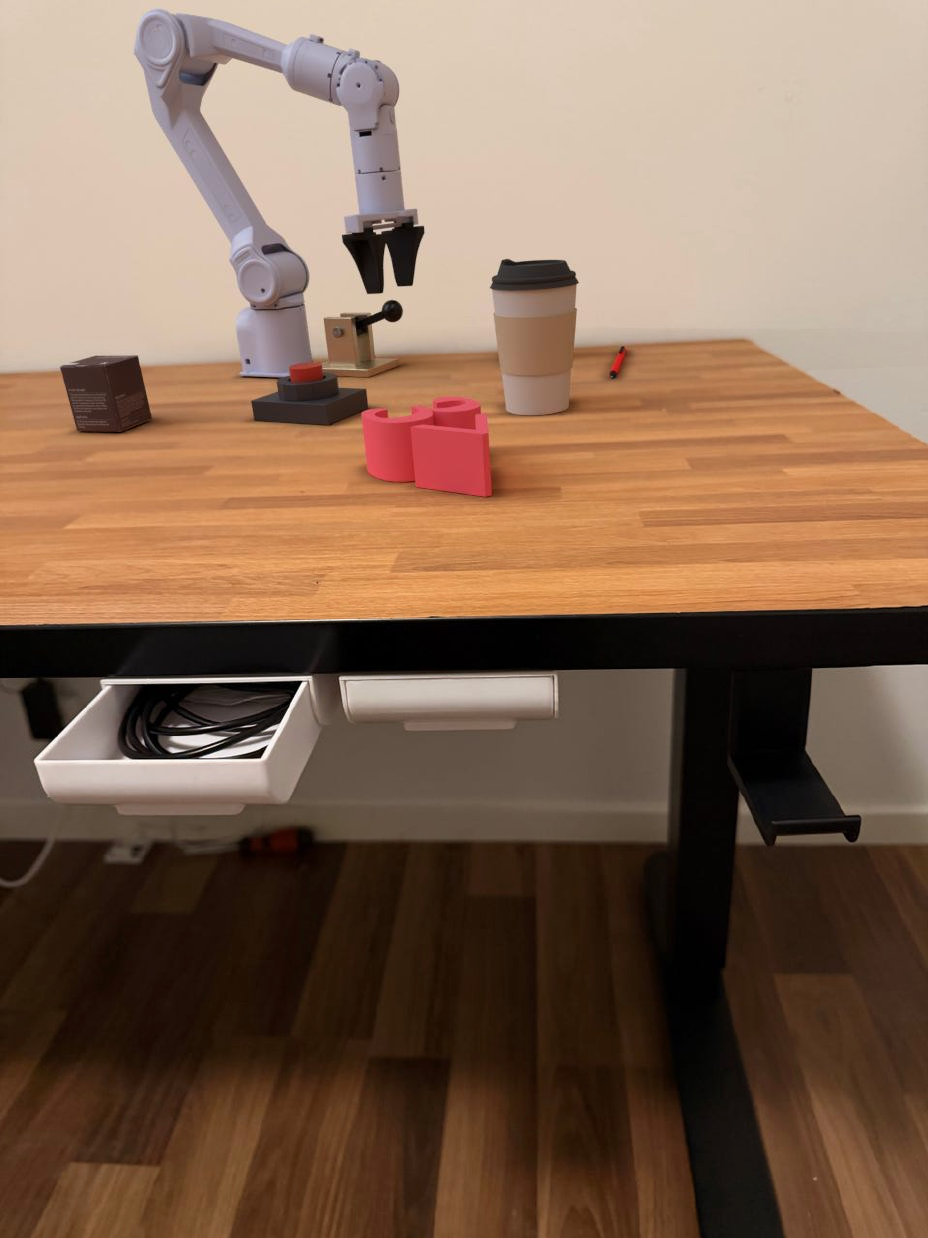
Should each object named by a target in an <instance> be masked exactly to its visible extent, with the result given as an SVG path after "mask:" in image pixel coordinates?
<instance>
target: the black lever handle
mask: <svg viewBox="0 0 928 1238" xmlns="http://www.w3.org/2000/svg"><path fill="white" fill-rule="evenodd" d="M403 314H404V309H403V306H402V304H401V303H400V302H399V301H397V300H396V299H389V300H387V301H385V302H384V303H383V305H382V307H381V310H380V311H378V312H376V313H373V314H371V316H368V317H366V318H364V319H361V320H359V318H358V316H356V317H355V325H356V334H357V336H359V335H361V334H364V332H363V329H362V328H364V327H366V326H369V325H371V324H372V325H374V324H375V323H376V324H377V323H379V322H381V321H383V320H385V321H387V322H389V323H396V322H399V321H400V320H401V319H402V318H403Z"/></svg>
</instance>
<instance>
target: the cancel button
mask: <svg viewBox="0 0 928 1238" xmlns="http://www.w3.org/2000/svg"><path fill="white" fill-rule="evenodd" d="M321 363H322V362H312V363H300V364H295V365H291V366H289V372H290V379H291V382H310V381H316V380H321V379H324V377H323V369H322V364H321Z"/></svg>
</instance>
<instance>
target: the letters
mask: <svg viewBox="0 0 928 1238" xmlns="http://www.w3.org/2000/svg"><path fill="white" fill-rule="evenodd" d="M410 410H411V414H410V415H404V416H398V417H397V416H396V417H389V411H388V408H370V409H365V410H363V411H361V412H360V415H361V424H362V432H363V433H362V434H363V442H364V443H363V444H364V452H365V461H366V470H367V473H368V474H369V475H370V476H372V477H373V478H376V479H379V480H382V481H386V482H393V483H394V482H395V483H406V482H415V487H416V488H420V489H429V490H436V491H441V492H448V493H449V492H450V493H455V494H464V495H469V496H476V497H486V498H487V497H491V496H492V495H493V493H492V473H491V453H490V451H491V450H490V432H489V423H488V413H487V412H482V407H481V402H479V401H477V400H475V399H473V398H468V397H463V396H462V397H461V396H442V397H441V396H440V397H436V398H434V399H432V407H426V406H424V405H421V404H417V405H412V406H410Z"/></svg>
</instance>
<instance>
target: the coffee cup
mask: <svg viewBox="0 0 928 1238" xmlns="http://www.w3.org/2000/svg"><path fill="white" fill-rule="evenodd" d="M578 284H580V282H579V280H578V278H577V273H576V271H574V270H571V269H570V267H569V264H568V262H567V260H565V259H535V260H522V261H520V260H519V261H514V260H512V259H510V258H505V259H502V260H501V261H500V263H499V267H498V271H497V274H496V275H493V276H492V277H491V285H490V286H489V289H490V290H491V292H492V301H493V308H494V312H493V322H494V329H495V337H496V344H497V345H496V346H497V353H498V360H499V361H498V362H499V370H500V372H501V377H502V386H503V393H504V395H503V396H504V403H505V411H506V412H507V413H510V414H513V415H517V416H544V415H552V414H557V413H560V412H564V411H566V410H567V409H569V407H570V392H571V376H572V369H573V366H574V354H575V353H574V352H575V341H576V340H575V339H576V329H577V328H576V325H577V313H578V308H577V307H576V303H577V302H576V300H577V287H578V286H577V285H578Z"/></svg>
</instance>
